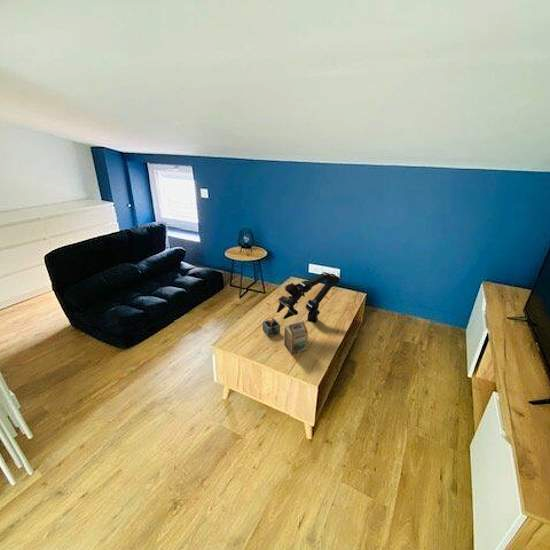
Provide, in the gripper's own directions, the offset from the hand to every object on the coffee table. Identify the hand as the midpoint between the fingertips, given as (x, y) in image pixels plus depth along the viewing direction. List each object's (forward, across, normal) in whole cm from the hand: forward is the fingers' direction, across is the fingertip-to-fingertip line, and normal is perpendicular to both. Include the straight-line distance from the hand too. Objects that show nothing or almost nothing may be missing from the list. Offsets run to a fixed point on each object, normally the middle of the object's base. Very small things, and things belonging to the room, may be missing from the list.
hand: (280, 315), depth 201 cm
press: (+12, +1, +3) cm, 13 cm away
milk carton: (+8, +22, +7) cm, 25 cm away
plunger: (+12, 0, +3) cm, 13 cm away
